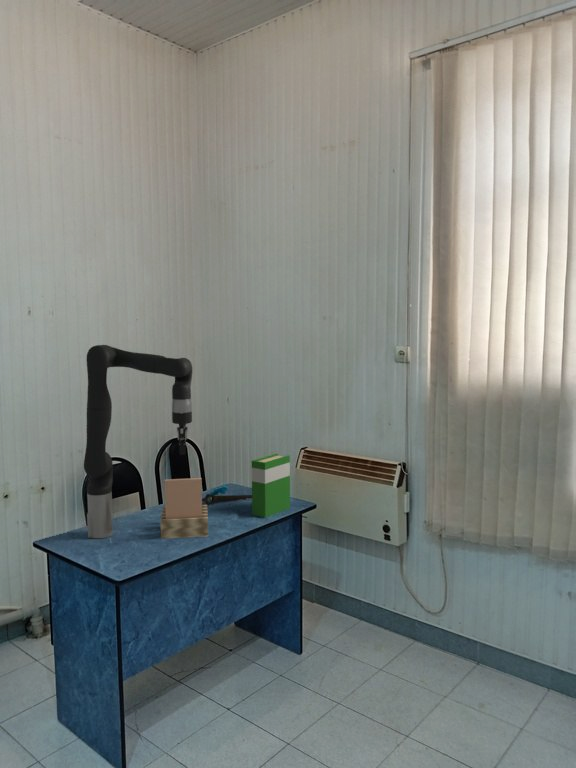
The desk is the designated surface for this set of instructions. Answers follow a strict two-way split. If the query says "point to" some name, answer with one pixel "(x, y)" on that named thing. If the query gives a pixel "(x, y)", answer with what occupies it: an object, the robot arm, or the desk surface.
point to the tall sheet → (183, 498)
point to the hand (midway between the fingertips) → (182, 452)
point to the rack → (184, 526)
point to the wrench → (224, 498)
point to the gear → (218, 491)
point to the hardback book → (270, 485)
